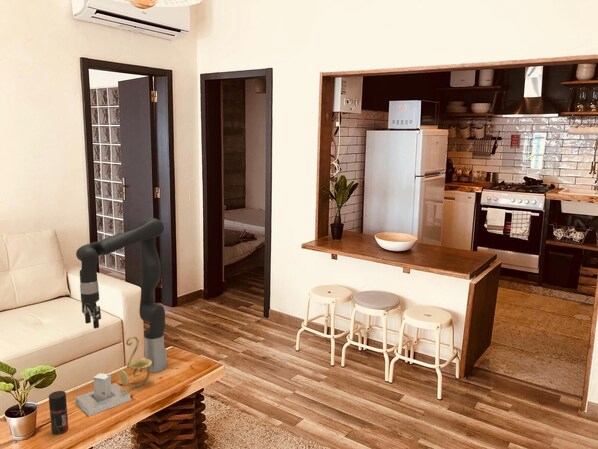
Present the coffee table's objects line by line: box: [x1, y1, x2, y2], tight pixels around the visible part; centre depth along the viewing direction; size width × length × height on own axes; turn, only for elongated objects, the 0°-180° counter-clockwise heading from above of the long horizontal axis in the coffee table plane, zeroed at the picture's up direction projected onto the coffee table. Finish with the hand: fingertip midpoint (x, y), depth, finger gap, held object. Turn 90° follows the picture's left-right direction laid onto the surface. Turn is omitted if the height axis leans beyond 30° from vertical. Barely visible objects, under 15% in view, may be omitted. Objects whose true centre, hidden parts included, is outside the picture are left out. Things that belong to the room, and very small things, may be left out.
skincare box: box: [93, 372, 112, 402], centre depth 213 cm, size 6×4×12 cm
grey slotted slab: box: [74, 382, 131, 417], centre depth 214 cm, size 18×14×3 cm
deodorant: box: [48, 390, 69, 436], centre depth 192 cm, size 6×6×15 cm
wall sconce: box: [118, 335, 152, 388], centre depth 225 cm, size 14×10×25 cm
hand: (92, 325), depth 222 cm, fingers open, 8 cm apart
